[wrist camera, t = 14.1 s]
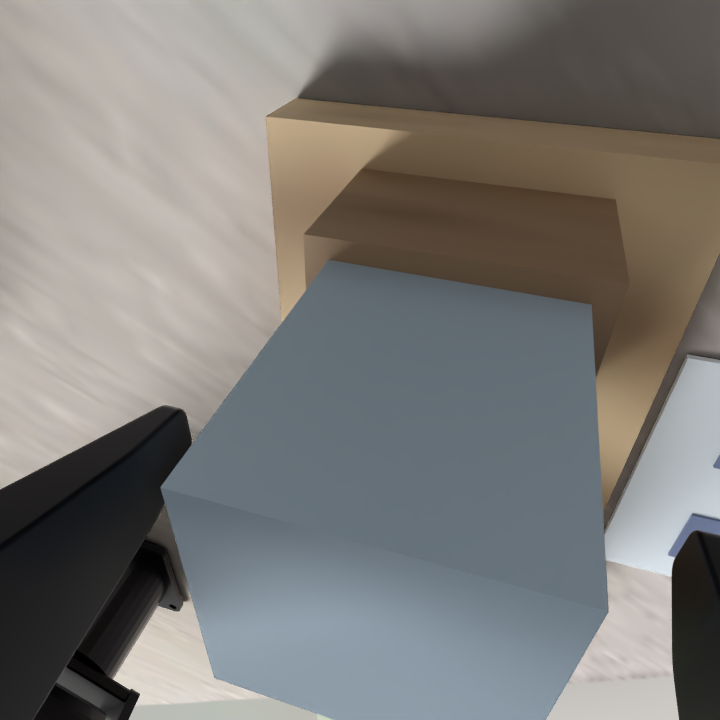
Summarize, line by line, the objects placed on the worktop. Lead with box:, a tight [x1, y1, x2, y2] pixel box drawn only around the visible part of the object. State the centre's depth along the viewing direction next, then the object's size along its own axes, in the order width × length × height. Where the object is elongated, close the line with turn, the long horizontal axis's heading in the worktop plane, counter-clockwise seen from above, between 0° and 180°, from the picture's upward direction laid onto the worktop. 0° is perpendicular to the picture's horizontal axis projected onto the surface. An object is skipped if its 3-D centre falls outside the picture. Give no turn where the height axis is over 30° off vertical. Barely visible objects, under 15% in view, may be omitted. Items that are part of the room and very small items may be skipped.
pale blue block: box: [160, 260, 609, 720], centre depth 10 cm, size 5×5×6 cm
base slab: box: [266, 98, 720, 512], centre depth 19 cm, size 22×11×6 cm, turn 179°
